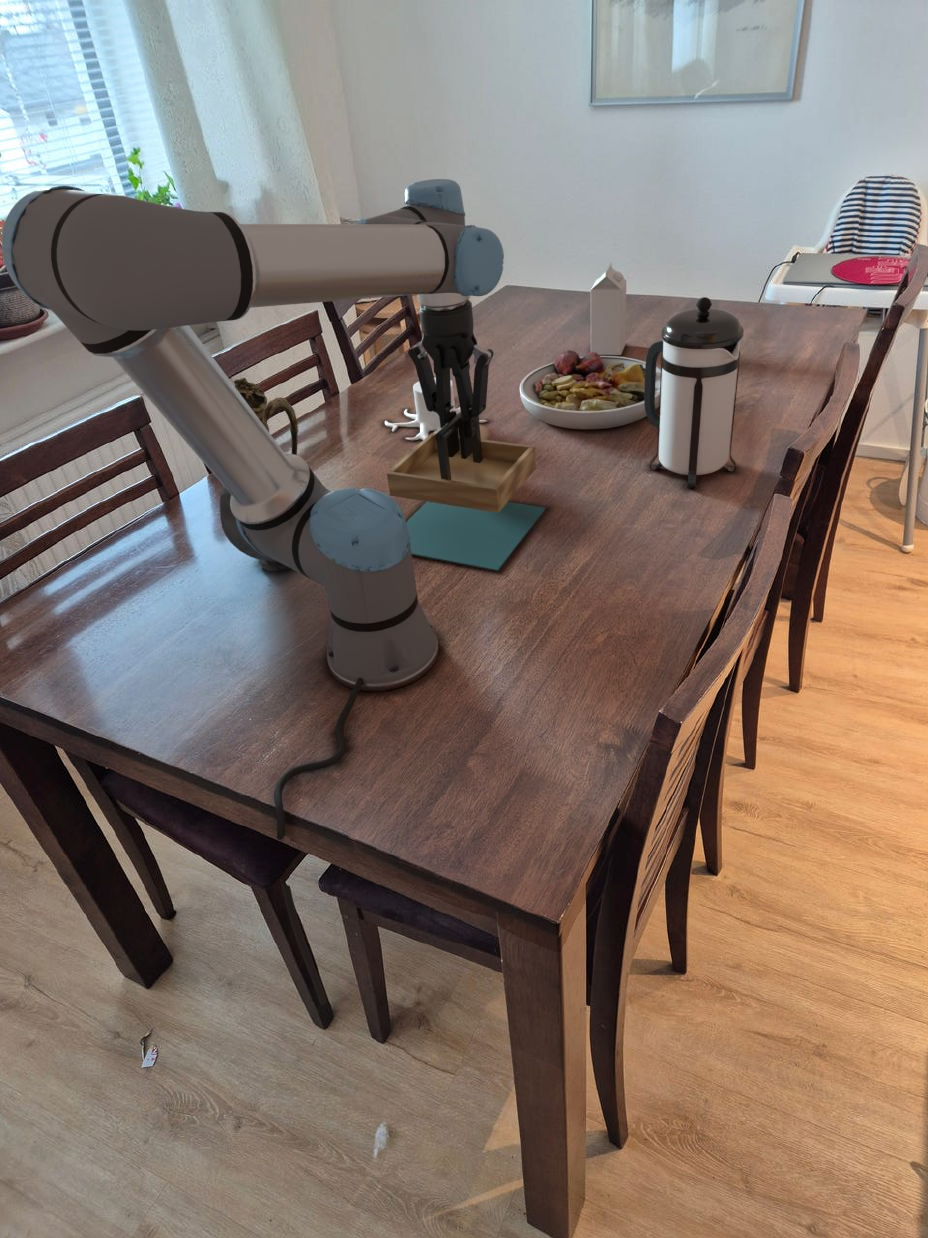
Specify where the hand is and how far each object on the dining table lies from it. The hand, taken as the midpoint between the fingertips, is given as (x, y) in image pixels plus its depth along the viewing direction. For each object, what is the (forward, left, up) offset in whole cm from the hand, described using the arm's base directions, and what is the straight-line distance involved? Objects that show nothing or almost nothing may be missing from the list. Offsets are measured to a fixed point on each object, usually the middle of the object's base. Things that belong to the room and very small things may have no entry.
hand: (460, 453), depth 136 cm
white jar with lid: (+18, +10, -14) cm, 25 cm away
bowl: (+53, -3, -14) cm, 55 cm away
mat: (0, +1, -14) cm, 14 cm away
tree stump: (+37, +26, -14) cm, 47 cm away
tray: (0, 0, -5) cm, 5 cm away
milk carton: (+84, +4, -14) cm, 85 cm away
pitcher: (-16, +26, -14) cm, 33 cm away
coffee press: (+31, -28, -14) cm, 44 cm away
